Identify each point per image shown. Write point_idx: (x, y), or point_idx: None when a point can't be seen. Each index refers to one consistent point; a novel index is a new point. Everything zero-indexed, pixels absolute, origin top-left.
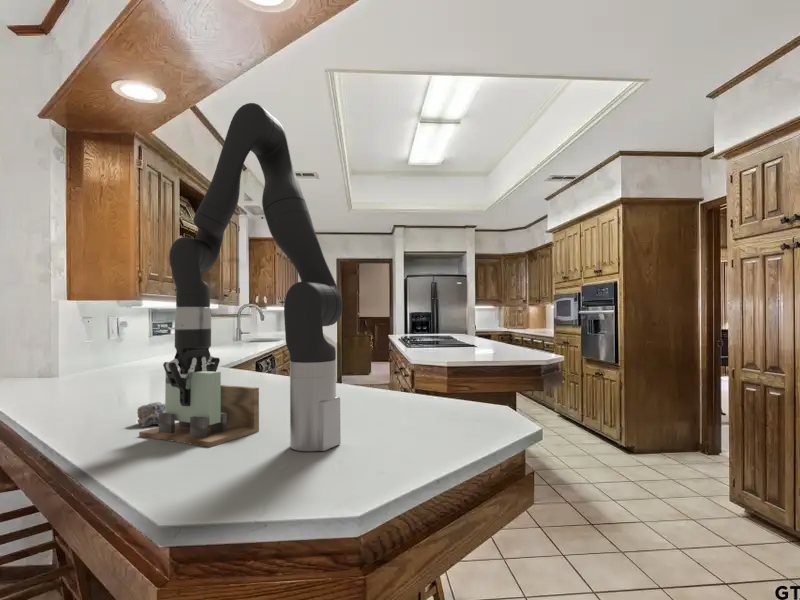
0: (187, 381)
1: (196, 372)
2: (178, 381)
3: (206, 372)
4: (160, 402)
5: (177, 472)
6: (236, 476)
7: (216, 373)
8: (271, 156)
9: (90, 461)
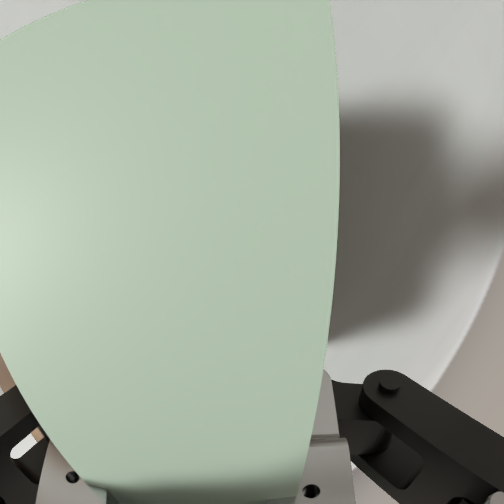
0: (326, 414)
1: (276, 472)
2: (428, 401)
3: (162, 317)
4: None
5: (463, 22)
6: None
7: (75, 14)
8: None
9: (482, 271)
